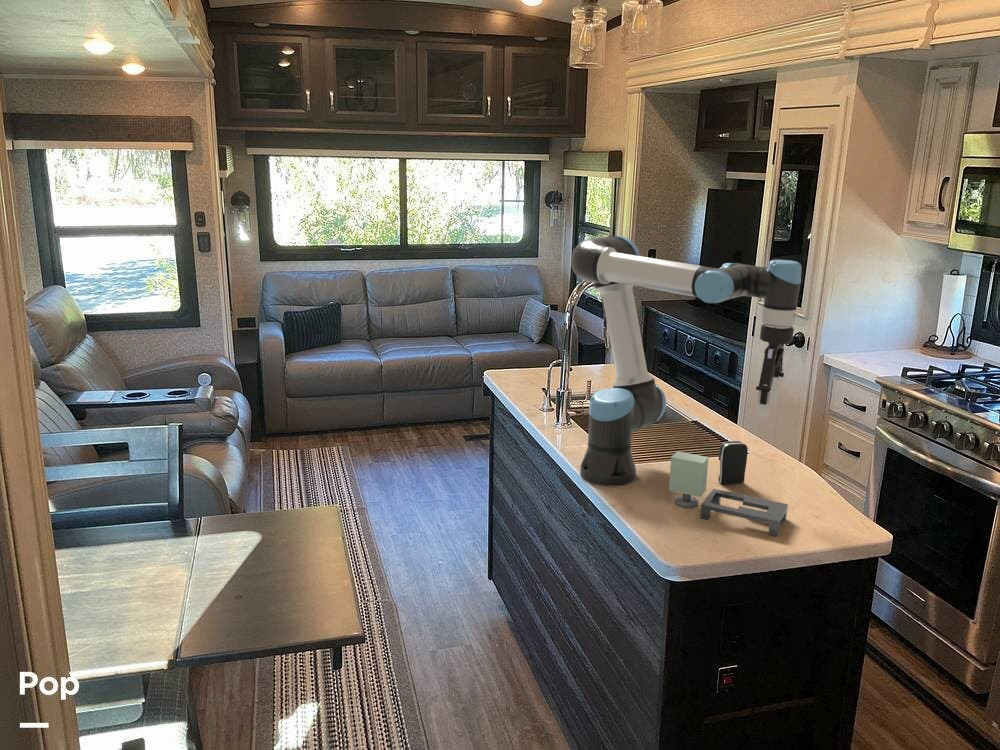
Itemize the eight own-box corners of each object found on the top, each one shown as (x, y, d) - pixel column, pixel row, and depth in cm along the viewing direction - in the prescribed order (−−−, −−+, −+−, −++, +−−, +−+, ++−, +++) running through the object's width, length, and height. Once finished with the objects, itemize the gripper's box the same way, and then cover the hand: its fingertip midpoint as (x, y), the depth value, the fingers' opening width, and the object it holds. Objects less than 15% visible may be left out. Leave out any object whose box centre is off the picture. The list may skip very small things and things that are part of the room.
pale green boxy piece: (667, 504, 198) (670, 457, 194) (674, 496, 202) (677, 450, 199) (698, 511, 194) (702, 463, 190) (705, 503, 198) (709, 456, 195)
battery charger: (738, 478, 214) (742, 439, 211) (745, 484, 211) (749, 443, 208) (714, 479, 213) (718, 440, 210) (720, 485, 210) (724, 445, 207)
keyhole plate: (699, 518, 189) (701, 504, 188) (712, 502, 199) (713, 488, 198) (777, 536, 181) (779, 521, 180) (786, 518, 190) (787, 504, 189)
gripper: (786, 336, 177) (774, 425, 183) (801, 318, 198) (789, 398, 204) (752, 332, 180) (741, 419, 186) (770, 314, 202) (760, 393, 208)
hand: (766, 408), depth 195 cm, fingers open, 13 cm apart
